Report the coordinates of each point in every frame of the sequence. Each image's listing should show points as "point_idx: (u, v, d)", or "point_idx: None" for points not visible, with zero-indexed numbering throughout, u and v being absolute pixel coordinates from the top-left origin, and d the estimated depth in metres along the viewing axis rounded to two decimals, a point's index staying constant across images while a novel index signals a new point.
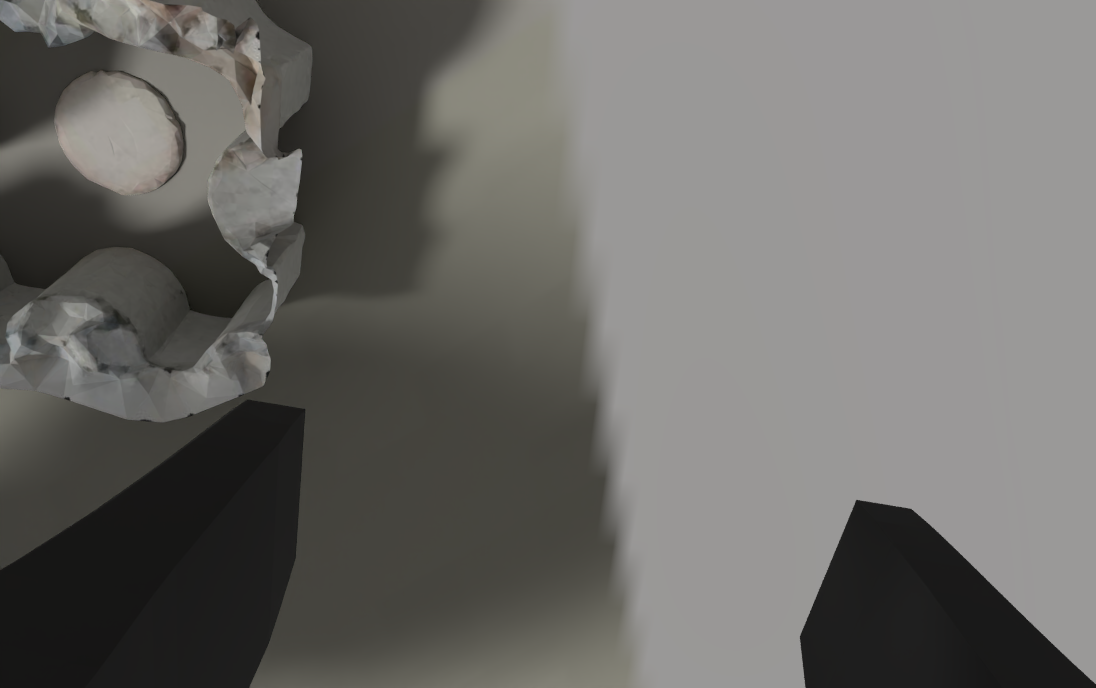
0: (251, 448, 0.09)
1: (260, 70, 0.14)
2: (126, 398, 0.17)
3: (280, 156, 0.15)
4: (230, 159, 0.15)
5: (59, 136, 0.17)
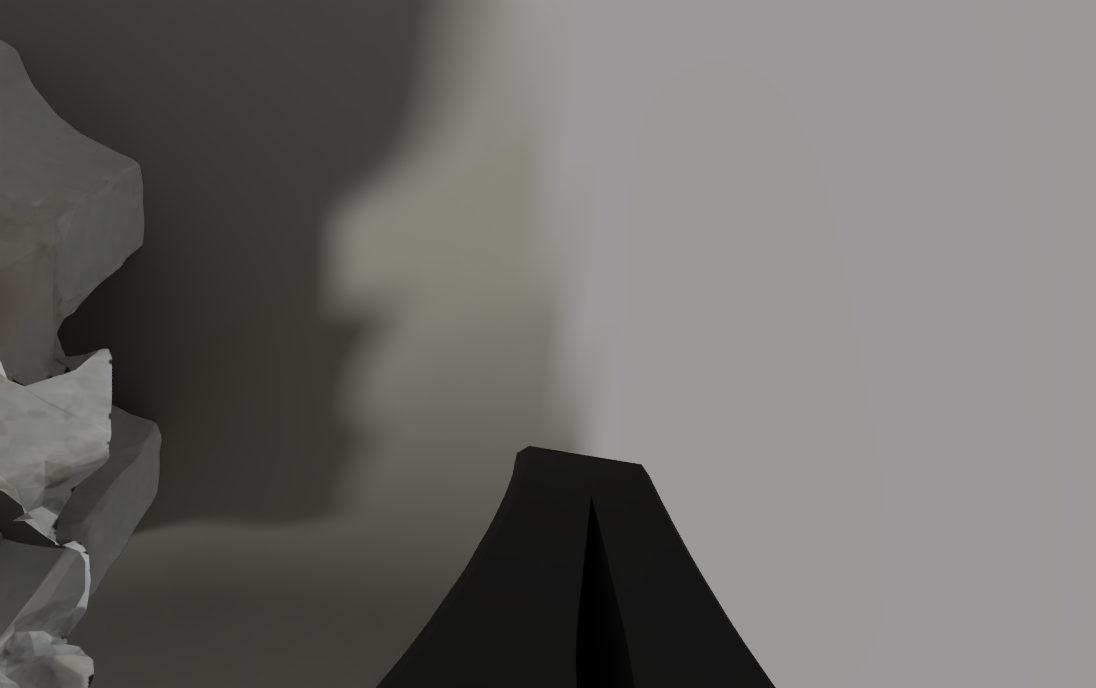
0: (568, 500, 0.09)
1: None
2: None
3: (60, 372, 0.09)
4: None
5: None
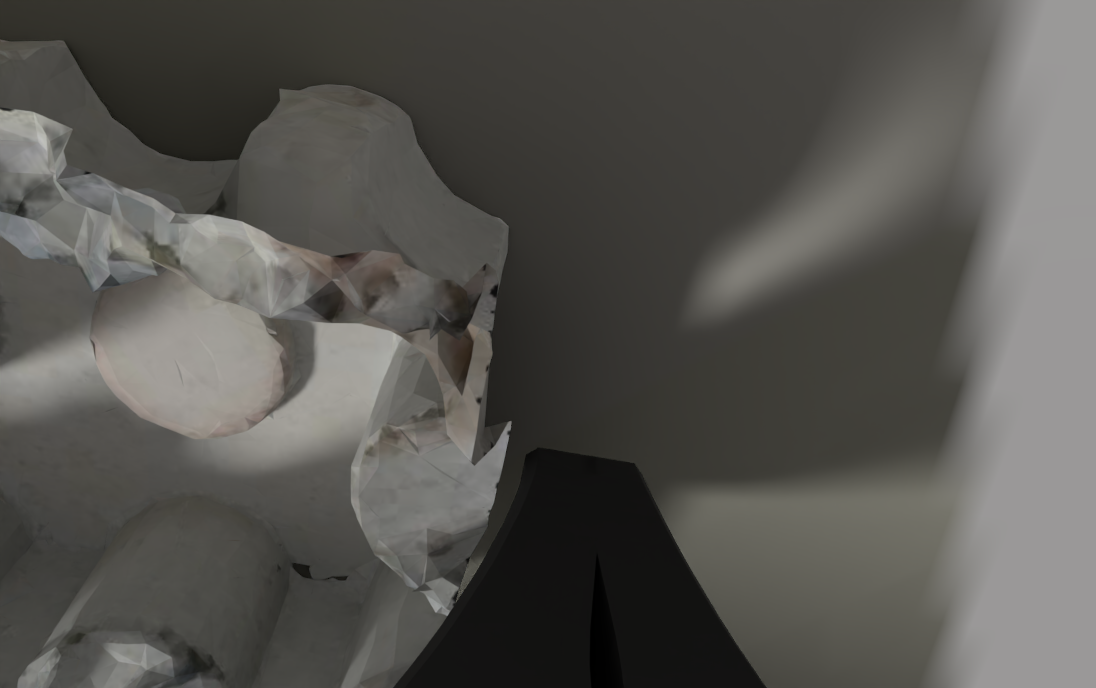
0: (578, 501, 0.09)
1: (480, 335, 0.08)
2: None
3: (487, 448, 0.09)
4: (394, 441, 0.09)
5: (97, 358, 0.11)
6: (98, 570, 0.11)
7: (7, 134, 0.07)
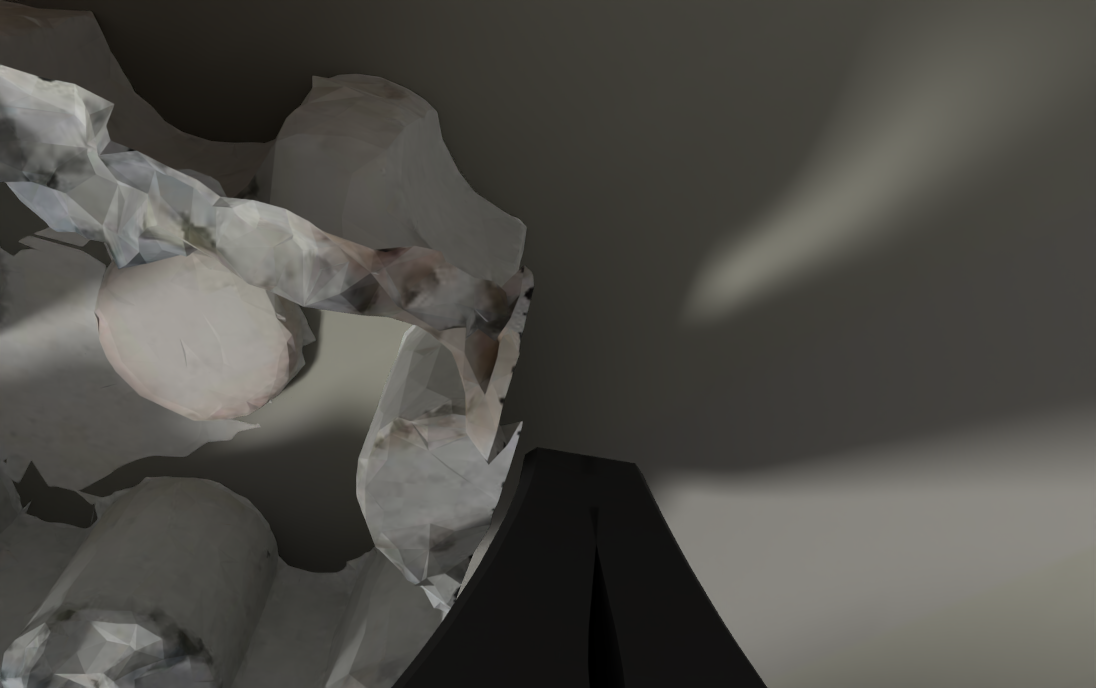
0: (577, 501, 0.09)
1: (508, 335, 0.08)
2: None
3: (500, 447, 0.09)
4: (405, 435, 0.09)
5: (100, 333, 0.11)
6: (87, 547, 0.11)
7: (44, 104, 0.07)
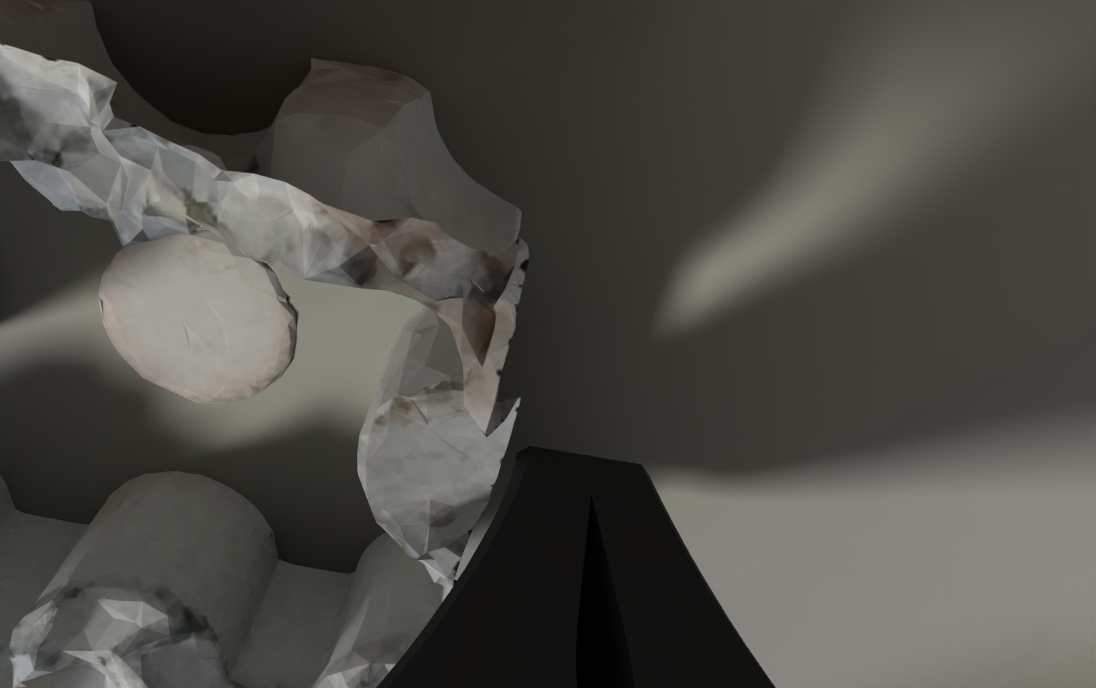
0: (567, 499, 0.09)
1: (504, 308, 0.08)
2: None
3: (498, 422, 0.09)
4: (405, 412, 0.09)
5: (105, 317, 0.11)
6: (93, 528, 0.11)
7: (48, 84, 0.07)
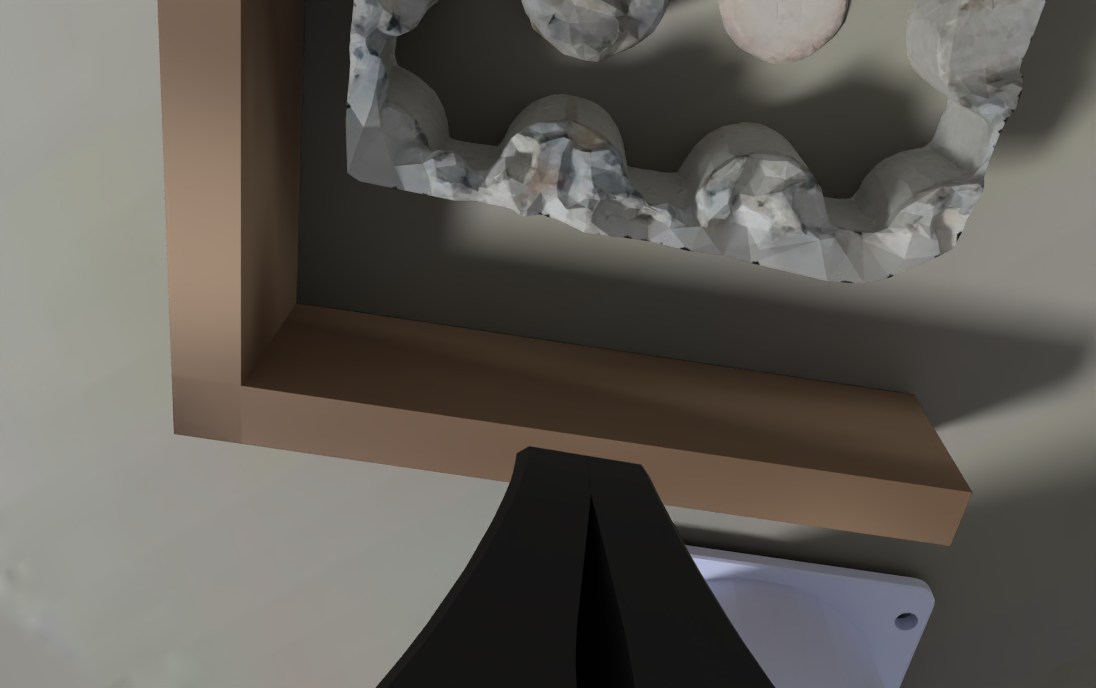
0: (568, 500, 0.09)
1: None
2: (825, 259, 0.16)
3: None
4: None
5: (723, 0, 0.17)
6: (713, 147, 0.17)
7: None
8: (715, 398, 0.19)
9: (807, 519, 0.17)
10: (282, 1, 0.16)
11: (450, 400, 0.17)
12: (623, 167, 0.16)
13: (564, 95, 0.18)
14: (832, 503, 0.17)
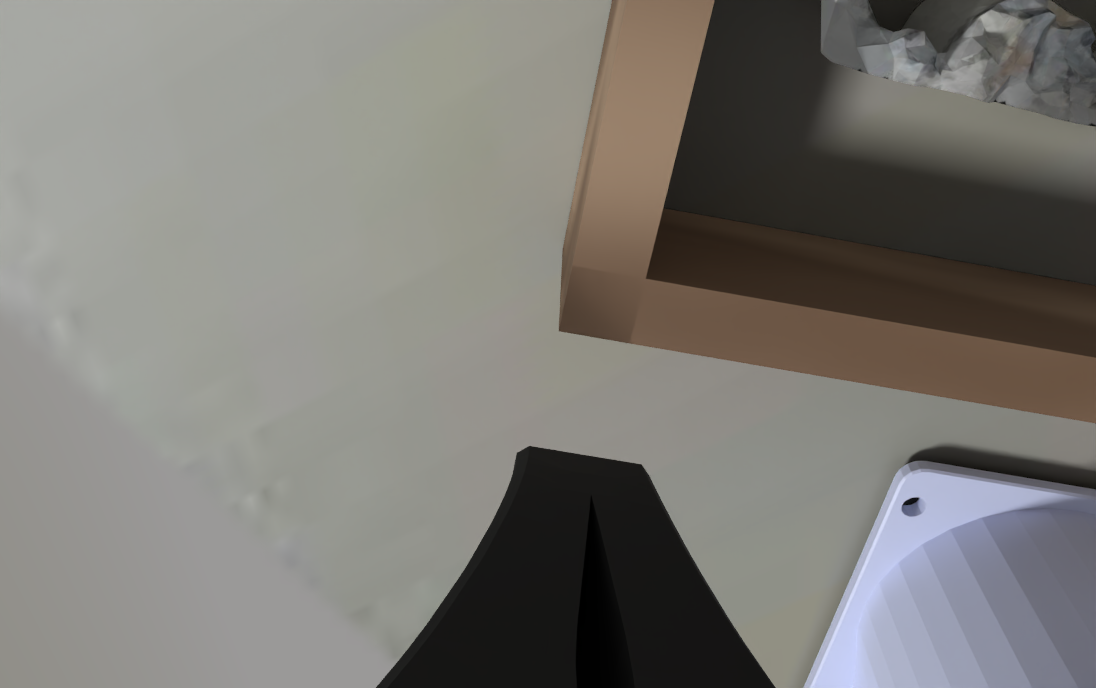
0: (567, 499, 0.09)
1: None
2: None
3: None
4: None
5: None
6: None
7: None
8: None
9: None
10: None
11: (854, 302, 0.16)
12: (1089, 49, 0.15)
13: None
14: None
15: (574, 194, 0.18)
